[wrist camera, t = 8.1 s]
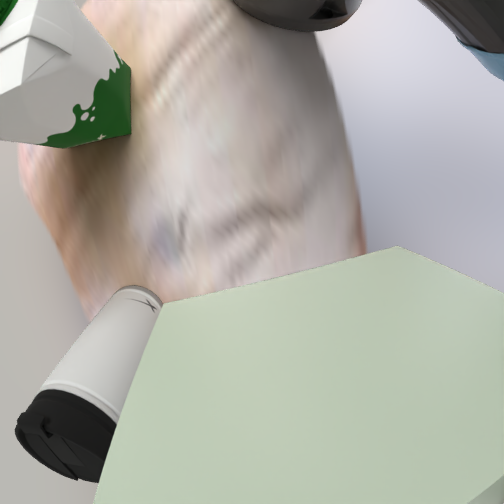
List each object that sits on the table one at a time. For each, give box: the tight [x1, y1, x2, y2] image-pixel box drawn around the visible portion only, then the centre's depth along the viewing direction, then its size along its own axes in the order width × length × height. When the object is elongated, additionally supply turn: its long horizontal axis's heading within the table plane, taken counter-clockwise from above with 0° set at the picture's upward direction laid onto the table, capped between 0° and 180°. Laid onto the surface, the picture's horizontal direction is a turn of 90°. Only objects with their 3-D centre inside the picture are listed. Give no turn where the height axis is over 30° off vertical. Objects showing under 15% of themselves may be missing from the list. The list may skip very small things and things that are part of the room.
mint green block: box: [93, 246, 504, 504], centre depth 8 cm, size 10×10×10 cm
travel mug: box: [15, 285, 163, 483], centre depth 19 cm, size 6×7×20 cm
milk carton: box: [0, 0, 131, 148], centre depth 14 cm, size 9×9×20 cm
